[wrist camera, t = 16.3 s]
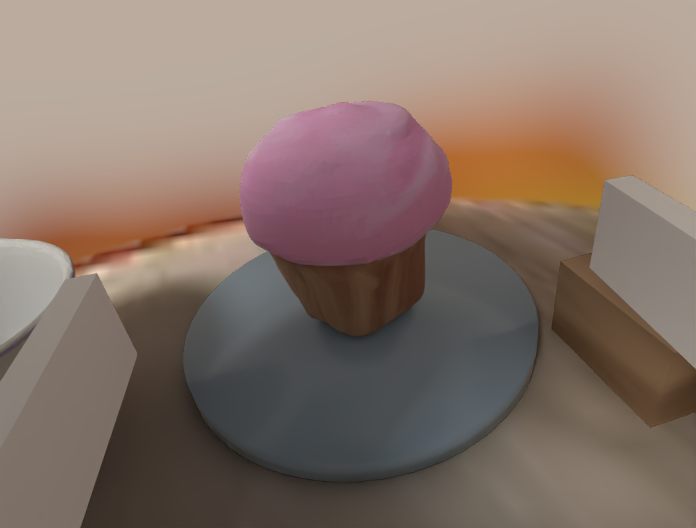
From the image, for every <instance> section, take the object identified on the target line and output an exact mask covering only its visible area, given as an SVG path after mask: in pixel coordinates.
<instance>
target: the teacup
mask: <svg viewBox="0 0 696 528" xmlns="http://www.w3.org/2000/svg"><path fill="white" fill-rule="evenodd" d="M69 278H75V269H74V265H73V262H72V260H71V258H70V257H69V256H68V254H67V253H66V252H65V251H63V250H62V249H60V248H59V247H57V246H55V245H52V244H49V243H46V242H42V241H35V240H27V239H6V238H0V381H1V380H2V378H3V377H4V375H5V374H6V372H7V370H8V369H9V367H10V366H11V364H12V363H13V361H14V359H15V358H16V356H17V355H18V353H19V352H20V350H21V348H22V347H23V345H24V344H25V342H26V341H27V339H28V337H29V336H30V334H31V333H32V331H33V330H34V328H35V326H36V325H37V323H38V322H39V320H40V319H41V317H42V316H43V314H44V312H45V311H46V309H47V308H48V306H49V305H50V303H51V301H52V300H53V298H54V297H55V295H56V294H57V292H58V290H59V289H60V287H61V286H62V284H63V283H64V281H65V279H69Z"/></svg>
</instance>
